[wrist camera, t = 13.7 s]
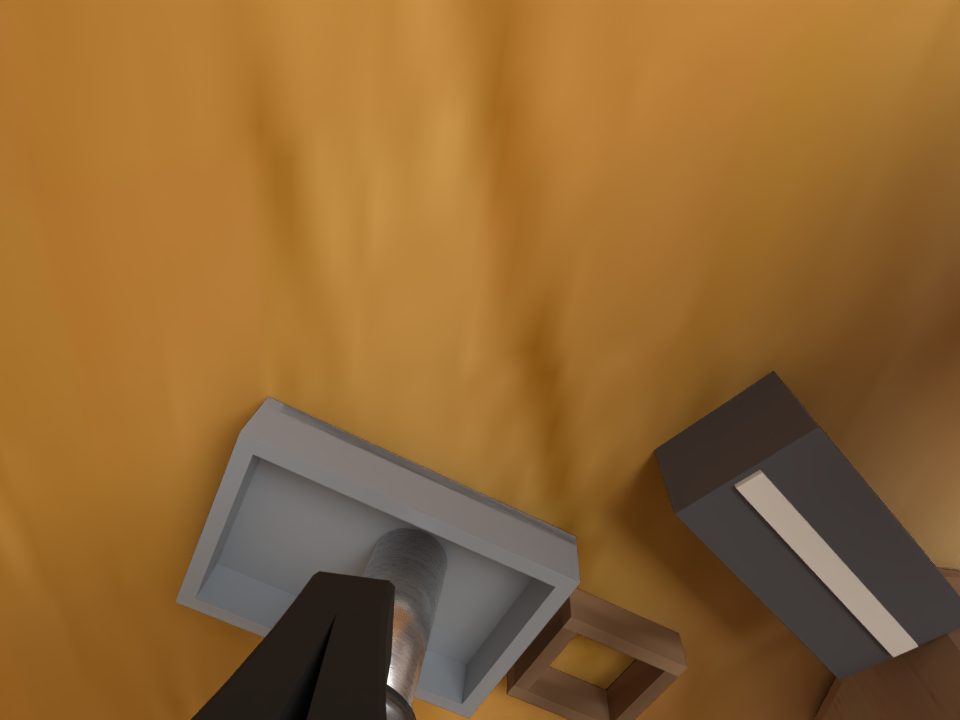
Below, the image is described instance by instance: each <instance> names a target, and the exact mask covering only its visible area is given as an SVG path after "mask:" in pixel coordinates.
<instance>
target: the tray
mask: <svg viewBox="0 0 960 720" xmlns="http://www.w3.org/2000/svg"><path fill="white" fill-rule="evenodd" d="M401 528H410V529H416V530H419V531H422V532H425V533H427V534H429V535H430V536H432V537H433V538H434V539H436V540H437V541H438V542H439V543H440V545H441V546H442V547H443V549H444V551H445V553H446V555H447V560H448V567H447V571H446V575H445V579H444V583H443V587H442V591H441V595H440V599H439V603H438V607H437V611H436V614H435V618H434V622H433V626H432V630H431V634H430V638H429V642H428V646H427V650H426V653H425V657H424V661H423V665H422V669H421V673H420V677H419V681H418V685H417V689H416V692H415V696H414V697H416V698H418V699H421V700H423V701H426V702H428V703H431V704H433V705H436V706H438V707H441V708H443V709H446V710H448V711H451V712H453V713H456V714H458V715H461V716H463V717H466V718H470V717H471V716H472V715H473V713H474V712H475V711H476V710H477V708H478V707H479V706H480V705H481V704H482V702H483V701H484V700H485V699H486V697H487V696H488V695H489V694H490V693H491V691H492V690H493V689H494V688H495V686H496V685H497V684H498V683H499V682H500V680H501V679H502V678H503V677H504V675H505V674H506V673H507V672H508V671H509V669H510V668H511V667H512V666H513V664H514V663H515V662H516V661H517V659H518V658H519V657H520V656H521V655H522V653H523V652H524V651H525V650H526V648H527V647H528V646H529V645H530V644H531V642H532V641H533V640H534V639H535V637H536V636H537V635H538V634H539V633H540V631H541V630H542V629H543V628H544V626H545V625H546V624H547V623H548V622H549V620H550V619H551V618H552V617H553V615H554V614H555V613H556V612H557V611H558V609H559V608H560V607H561V606H562V604H563V603H564V602H565V601H566V600H567V598H568V597H569V596H570V595H571V593H572V592H573V591H574V590H575V589H576V587H577V586H578V585H579V584H580V574H579V564H578V554H577V543H576V536H573V535H571V534H569V533H567V532H565V531H562V530H560V529H558V528H556V527H554V526H551V525H549V524H547V523H545V522H543V521H540V520H538V519H536V518H534V517H532V516H529V515H527V514H525V513H523V512H521V511H518V510H516V509H514V508H512V507H510V506H507V505H505V504H503V503H501V502H499V501H496V500H494V499H492V498H490V497H488V496H485V495H483V494H481V493H479V492H477V491H474V490H472V489H470V488H468V487H466V486H463V485H461V484H459V483H457V482H455V481H452V480H450V479H448V478H446V477H444V476H441V475H439V474H437V473H435V472H433V471H430V470H428V469H426V468H424V467H422V466H419V465H417V464H415V463H413V462H411V461H408V460H406V459H404V458H402V457H400V456H397V455H395V454H393V453H391V452H389V451H386V450H384V449H382V448H380V447H378V446H375V445H373V444H371V443H369V442H367V441H364V440H362V439H360V438H358V437H356V436H353V435H351V434H349V433H347V432H345V431H342V430H340V429H338V428H336V427H334V426H331V425H329V424H327V423H325V422H322V421H320V420H318V419H316V418H314V417H311V416H309V415H307V414H305V413H303V412H300V411H298V410H296V409H294V408H292V407H289V406H287V405H285V404H283V403H281V402H278V401H276V400H274V399H272V398H270V397H268V398H267V399H266V400H265V402H264V403H263V404H262V405H261V407H260V408H259V409H258V410H257V412H256V413H255V414H254V415H253V417H252V418H251V419H250V420H249V422H248V423H247V424H246V425H245V427H244V428H243V429H242V430H241V432H240V434H239V436H238V439H237V442H236V444H235V447H234V450H233V452H232V455H231V457H230V460H229V463H228V465H227V468H226V470H225V473H224V476H223V478H222V481H221V484H220V486H219V489H218V491H217V494H216V497H215V499H214V502H213V505H212V507H211V510H210V512H209V515H208V518H207V520H206V523H205V526H204V528H203V531H202V533H201V536H200V539H199V541H198V544H197V547H196V549H195V552H194V554H193V557H192V560H191V562H190V565H189V568H188V570H187V573H186V575H185V578H184V581H183V583H182V586H181V589H180V591H179V594H178V596H177V599H176V603H178V604H181V605H183V606H186V607H188V608H191V609H193V610H196V611H198V612H201V613H203V614H206V615H208V616H211V617H214V618H216V619H219V620H221V621H224V622H226V623H229V624H231V625H234V626H236V627H239V628H241V629H244V630H246V631H249V632H251V633H254V634H256V635H259V636H262V637H264V638H265V637H266V635H267V634H268V633H269V632H270V631H271V629H272V628H273V627H274V626H275V624H276V623H277V622H278V621H279V620H280V618H281V617H282V616H283V615H284V613H285V612H286V611H287V609H288V608H289V607H290V606H291V604H292V603H293V602H294V600H295V599H296V598H297V596H298V595H299V594H300V592H301V591H302V590H303V588H304V587H305V586H306V584H307V583H308V581H309V580H310V579H311V577H312V576H313V575H314V574H316V573H317V572H319V571H322V572H330V573H337V574H345V575H352V576H360V577H362V575H363V573H364V570H365V568H366V566H367V564H368V561H369V559H370V557H371V554H372V552H373V550H374V548H375V545H376V543H377V542H378V540H379V539H380V538H381V537H382V536H383V535H384V534H386V533H388V532H390V531H392V530H395V529H401Z"/></svg>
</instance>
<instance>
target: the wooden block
mask: <svg viewBox="0 0 960 720" xmlns="http://www.w3.org/2000/svg"><path fill="white" fill-rule="evenodd" d="M938 570H939V571H940V572H941V573H942V575H943V576H944V577H945V578H946V580H947V581H948V582H949V583H950V584H951V586H952V587H953V588H954V589H955V591H956V592H957V593H958V594H959V596H960V571H956V570H947V569H939V568H938ZM814 720H960V628H959V629H956V630H954V631H952V632H949V633H947V634H945V635H943V636H940V637H938V638H936V639H933V640H931V641H929V642H927V643H924V644H922V645H920V646H918V647H916V648H914V649H912V650H909V651H907V652H905V653H903V654H900V655H898V656H896V657H892V658H890V659H888V660H886V661H883V662H881V663H879V664H876V665H874V666H872V667H870V668H867V669H865V670H863V671H860V672H858V673H856V674H854V675H851V676H849V677H847V678H845V679H842V680H839V679H838V678H837V677H836V678H835V680H834V682H833V684H832V686H831V688H830V690H829V692H828V694H827V696H826V698H825V699H824V701H823V703H822V705H821V707H820V709H819V711H818V713H817V715H816V717H815V719H814Z"/></svg>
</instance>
